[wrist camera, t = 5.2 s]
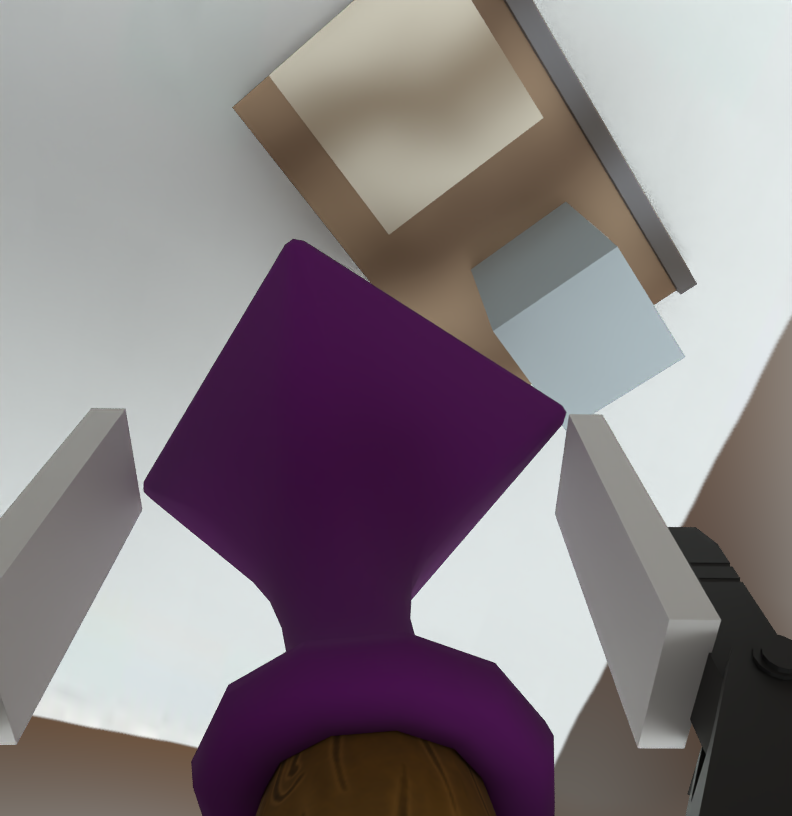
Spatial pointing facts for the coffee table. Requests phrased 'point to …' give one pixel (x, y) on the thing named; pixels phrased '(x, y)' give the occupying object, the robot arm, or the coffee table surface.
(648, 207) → the display board
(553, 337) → the tea tin
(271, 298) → the perfume bottle
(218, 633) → the coffee table surface
